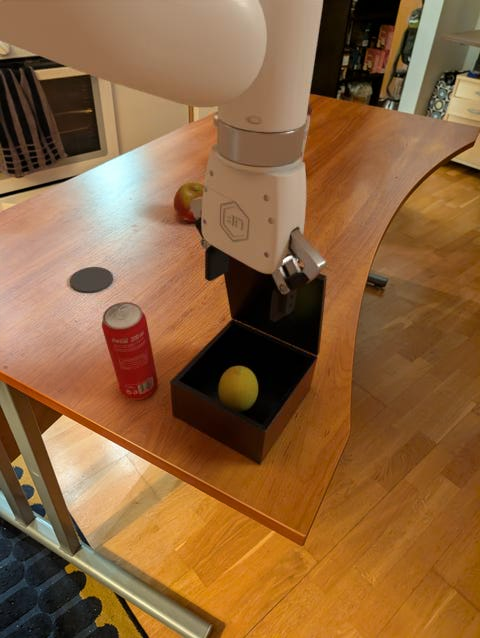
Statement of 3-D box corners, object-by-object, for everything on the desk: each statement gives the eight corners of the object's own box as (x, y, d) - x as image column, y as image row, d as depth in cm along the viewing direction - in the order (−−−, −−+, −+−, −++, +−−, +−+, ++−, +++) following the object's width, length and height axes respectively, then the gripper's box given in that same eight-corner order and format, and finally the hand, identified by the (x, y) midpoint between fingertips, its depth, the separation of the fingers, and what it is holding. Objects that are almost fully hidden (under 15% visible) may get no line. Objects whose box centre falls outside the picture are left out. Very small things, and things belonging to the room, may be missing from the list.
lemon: (214, 419, 65) (215, 381, 60) (221, 390, 69) (223, 352, 64) (253, 426, 64) (257, 388, 59) (258, 396, 68) (262, 358, 63)
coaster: (91, 298, 85) (91, 296, 85) (61, 283, 88) (60, 281, 88) (121, 277, 90) (121, 275, 90) (91, 264, 93) (91, 262, 93)
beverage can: (164, 380, 71) (158, 305, 61) (140, 410, 66) (129, 334, 57) (132, 367, 73) (121, 291, 63) (107, 395, 68) (90, 319, 58)
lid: (324, 280, 53) (342, 251, 55) (217, 240, 58) (239, 216, 60) (317, 356, 66) (332, 330, 68) (231, 318, 71) (247, 295, 74)
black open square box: (260, 465, 61) (265, 432, 56) (172, 415, 66) (169, 381, 61) (310, 389, 71) (317, 356, 66) (230, 351, 76) (232, 318, 72)
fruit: (206, 230, 106) (206, 198, 101) (168, 224, 107) (167, 192, 102) (216, 211, 113) (217, 180, 108) (181, 206, 114) (180, 175, 109)
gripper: (162, 122, 42) (170, 274, 54) (314, 184, 34) (286, 350, 45) (220, 107, 47) (216, 251, 58) (367, 159, 38) (330, 316, 49)
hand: (247, 294), depth 51 cm, fingers open, 9 cm apart
